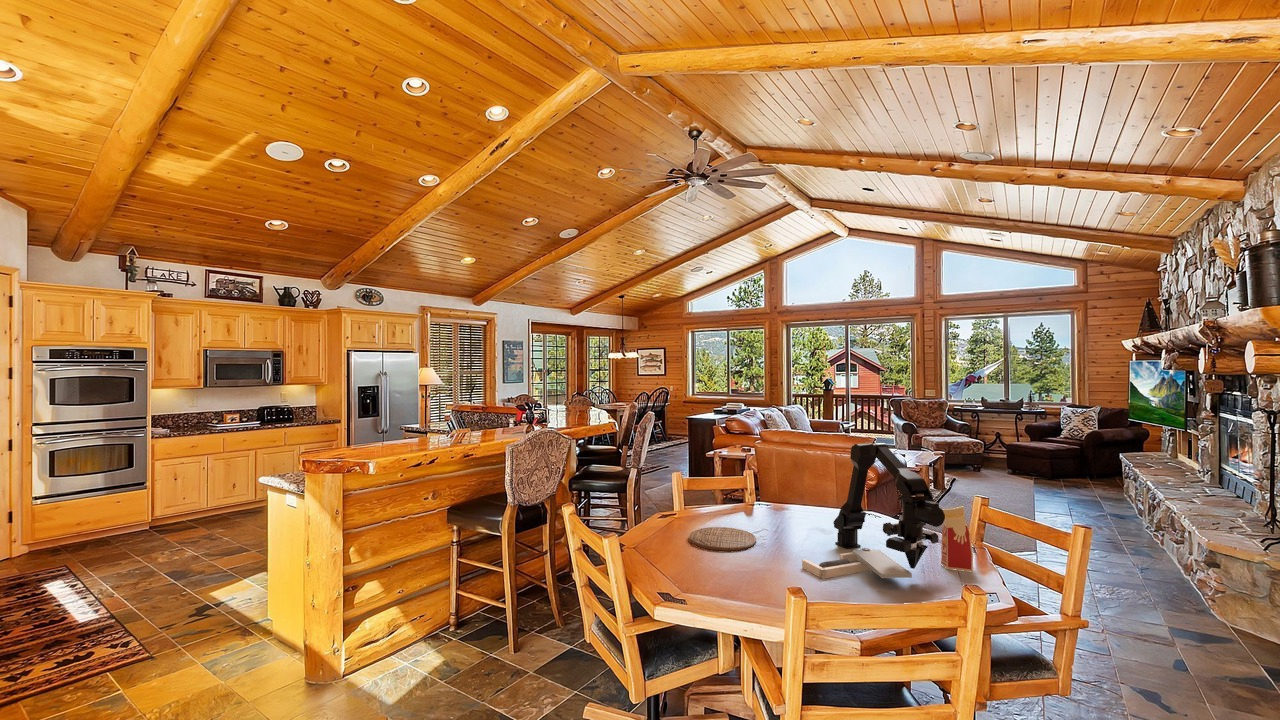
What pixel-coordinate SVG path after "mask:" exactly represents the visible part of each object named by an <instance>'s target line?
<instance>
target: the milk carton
mask: <svg viewBox="0 0 1280 720" xmlns="http://www.w3.org/2000/svg"><path fill="white" fill-rule="evenodd" d="M941 509H942V508H941ZM942 510H943V512H944V514H945V520H944V522H943V524H942V527H941V528H942V530H941V548H940V550H941V551H940V552H941V560H940V565H941V564H942V565H943V566H944V567H943V566H942V565H941V566H942V567H943V568H945V567H946V568H947V569H946V568H945V569H946V570H950V569H956V570H955V571H960V570H964V571H963V572H967V571H971V572H970V573H973V572H974V553H973V544H972V539H971V538H972V537H971V533H970V529H969V526H968V524H967V520H966V516H965V505H963V506H958V507H954V508H943V509H942Z"/></svg>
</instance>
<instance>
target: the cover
mask: <svg viewBox="0 0 1280 720" xmlns="http://www.w3.org/2000/svg"><path fill="white" fill-rule="evenodd" d="M852 552H853V554H854V555H855V556H856V557H857V558H858V559H860V560H861V561H862V562H863V563H864V564H866V565H867V566H868V567H869V568H870V569H872V570H871V571H873V572H874V573H875V574H876V575H877V576H879V577H880V578H882V579H898V578H899V579H902V578H903V579H905V578H912V576H913V573H912V572H911V571H909V570H908V569H906V568H905V567H904V566H902V565H901V564H900V563H898V562H896V560H894V559H893V558H891V557H890V556H889V555H887V554H886V553H884V552H883V551H882V550H881V549H870V548H867V547H863V548H861V549H852Z"/></svg>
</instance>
